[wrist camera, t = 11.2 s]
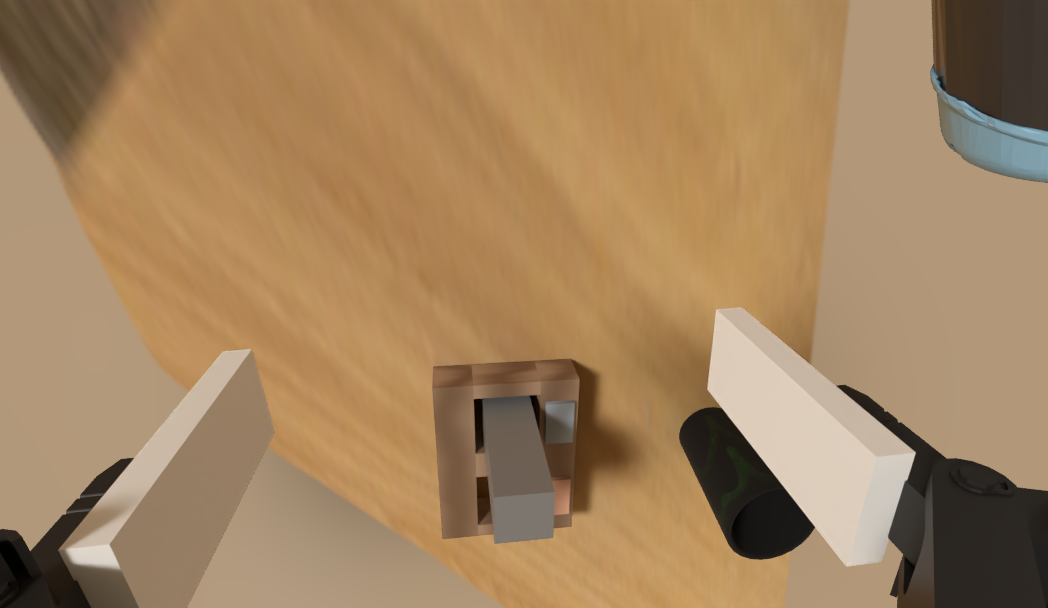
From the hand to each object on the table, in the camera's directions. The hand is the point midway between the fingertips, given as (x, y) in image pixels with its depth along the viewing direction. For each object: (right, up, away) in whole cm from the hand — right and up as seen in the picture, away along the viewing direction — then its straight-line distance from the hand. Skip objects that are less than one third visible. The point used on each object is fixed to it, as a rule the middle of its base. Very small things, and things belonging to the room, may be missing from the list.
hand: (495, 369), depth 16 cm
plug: (-1, -7, +33) cm, 34 cm away
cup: (+19, -11, +38) cm, 43 cm away
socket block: (-1, -11, +35) cm, 36 cm away
